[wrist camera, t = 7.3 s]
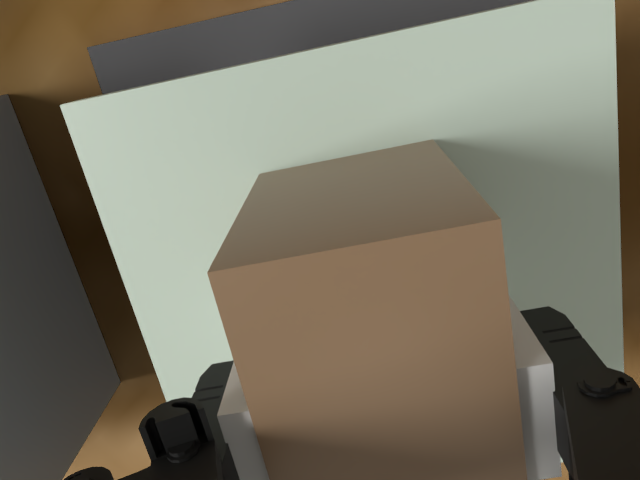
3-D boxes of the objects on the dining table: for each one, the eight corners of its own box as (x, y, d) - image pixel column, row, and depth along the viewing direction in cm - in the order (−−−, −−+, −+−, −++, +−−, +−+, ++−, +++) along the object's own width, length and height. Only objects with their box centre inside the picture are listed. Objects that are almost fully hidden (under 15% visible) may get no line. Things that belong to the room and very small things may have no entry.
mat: (92, 47, 22) (86, 47, 22) (562, -61, 20) (567, -63, 20) (215, 419, 28) (213, 426, 28) (584, 361, 26) (588, 367, 26)
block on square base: (97, 94, 18) (-139, 160, 9) (572, -10, 17) (849, -53, 8) (220, 459, 23) (146, 734, 14) (592, 403, 22) (773, 671, 13)
